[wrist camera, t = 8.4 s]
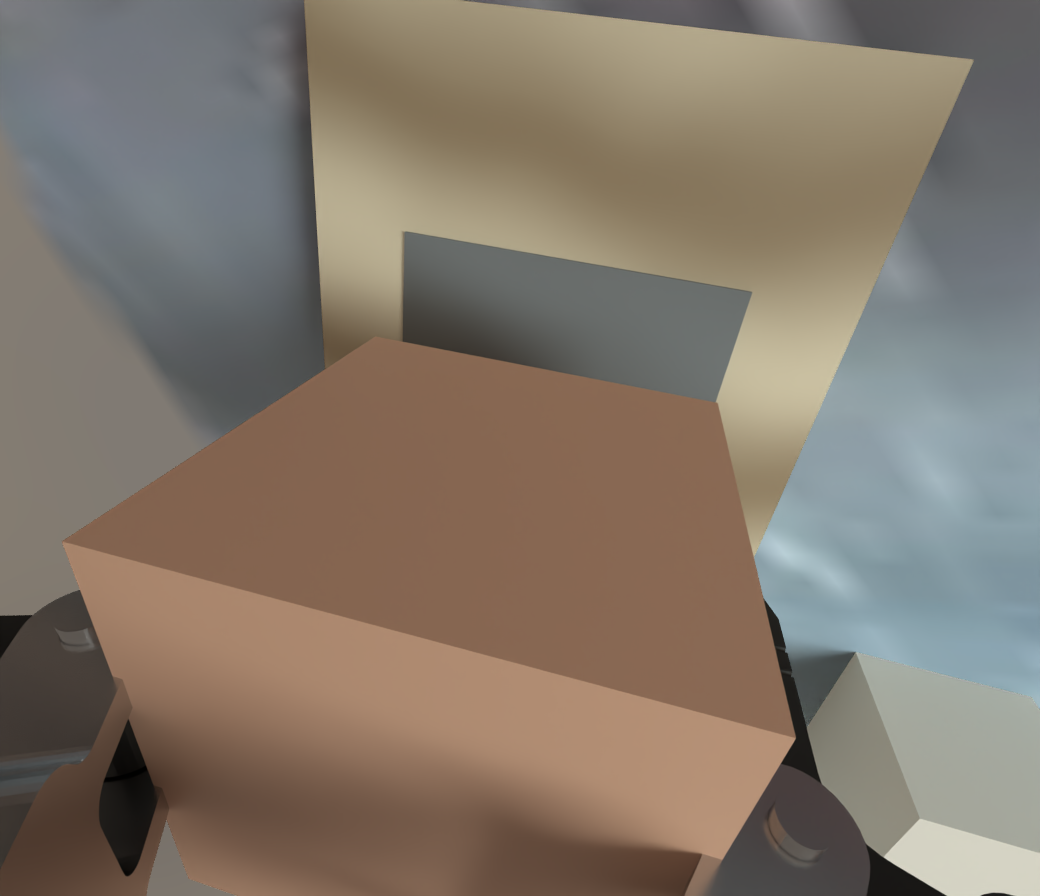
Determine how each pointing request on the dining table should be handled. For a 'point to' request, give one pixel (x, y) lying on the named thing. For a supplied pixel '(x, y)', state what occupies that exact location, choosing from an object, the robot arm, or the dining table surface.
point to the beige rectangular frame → (616, 200)
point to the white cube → (936, 774)
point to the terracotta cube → (445, 636)
